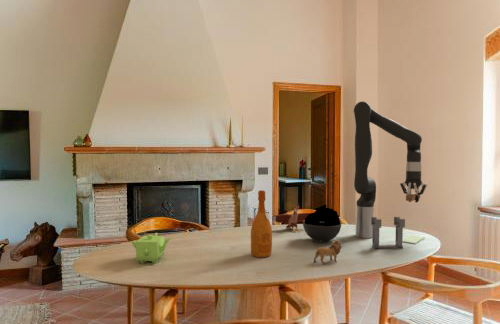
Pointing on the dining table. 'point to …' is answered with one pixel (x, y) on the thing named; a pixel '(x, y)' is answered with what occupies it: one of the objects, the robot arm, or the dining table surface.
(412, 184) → the robot arm
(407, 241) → the sage mat
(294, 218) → the decorative bird
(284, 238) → the dining table surface
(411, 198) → the walnut rail
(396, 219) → the cradle stand
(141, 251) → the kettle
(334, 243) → the lion figurine
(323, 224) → the bowl of black rocks
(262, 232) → the wine bottle
